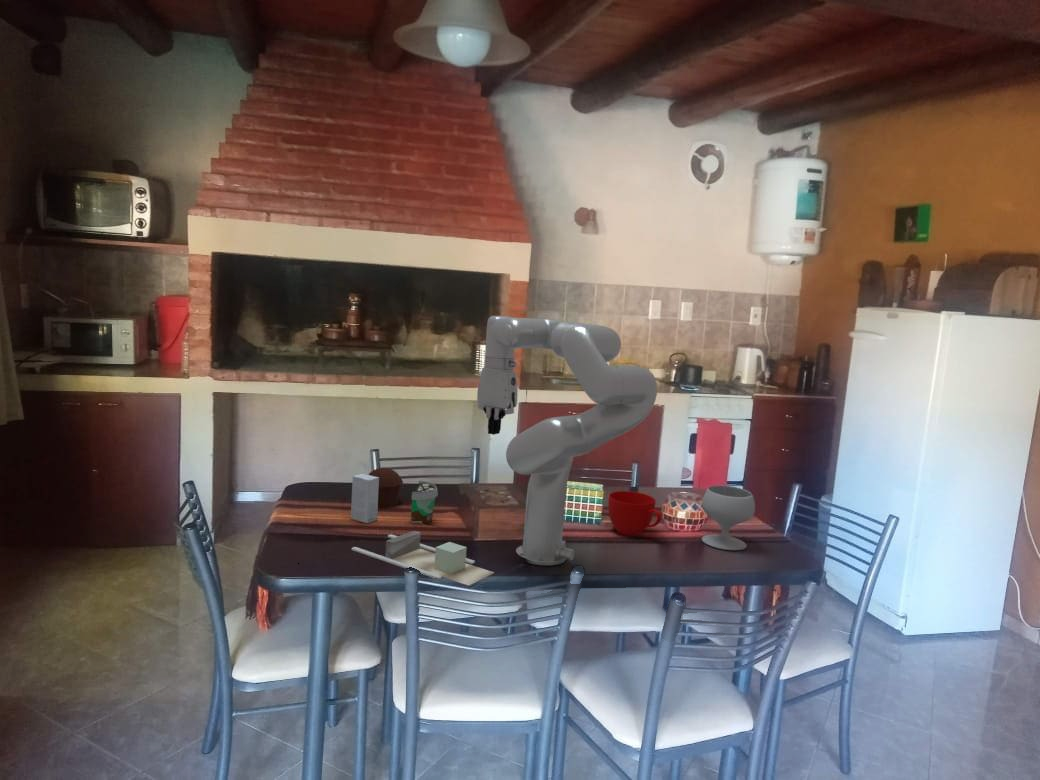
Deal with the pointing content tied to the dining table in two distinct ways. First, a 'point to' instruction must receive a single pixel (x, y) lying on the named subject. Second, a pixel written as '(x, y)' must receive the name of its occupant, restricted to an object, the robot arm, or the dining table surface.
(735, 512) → the chalice
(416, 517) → the food container
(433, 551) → the lane rails
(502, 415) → the robot arm
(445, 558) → the block
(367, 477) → the skincare box
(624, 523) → the ceramic cup
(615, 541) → the dining table surface
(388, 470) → the muffin
